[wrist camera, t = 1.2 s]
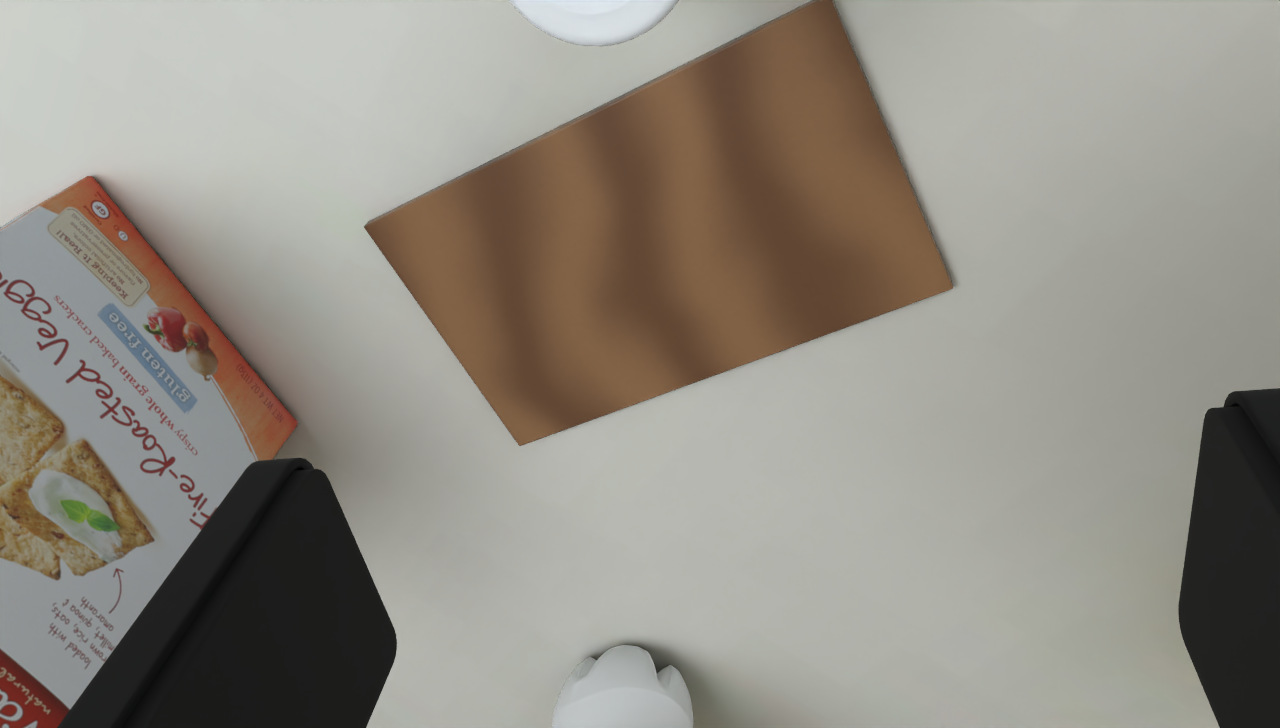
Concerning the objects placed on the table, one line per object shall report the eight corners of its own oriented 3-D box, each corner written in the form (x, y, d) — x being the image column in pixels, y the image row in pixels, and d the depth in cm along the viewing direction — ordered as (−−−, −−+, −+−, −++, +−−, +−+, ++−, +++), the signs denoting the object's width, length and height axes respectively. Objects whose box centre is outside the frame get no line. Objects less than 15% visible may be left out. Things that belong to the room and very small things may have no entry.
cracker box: (309, 417, 47) (13, 832, 30) (218, 457, 49) (-106, 864, 32) (97, 163, 41) (-429, 494, 24) (4, 221, 43) (-537, 562, 26)
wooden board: (829, -9, 33) (829, -5, 33) (952, 282, 38) (953, 288, 38) (367, 221, 41) (363, 226, 40) (521, 440, 46) (519, 446, 45)
